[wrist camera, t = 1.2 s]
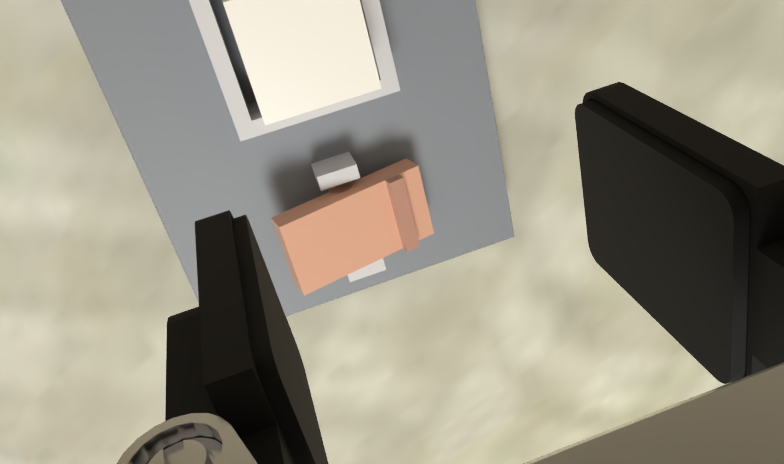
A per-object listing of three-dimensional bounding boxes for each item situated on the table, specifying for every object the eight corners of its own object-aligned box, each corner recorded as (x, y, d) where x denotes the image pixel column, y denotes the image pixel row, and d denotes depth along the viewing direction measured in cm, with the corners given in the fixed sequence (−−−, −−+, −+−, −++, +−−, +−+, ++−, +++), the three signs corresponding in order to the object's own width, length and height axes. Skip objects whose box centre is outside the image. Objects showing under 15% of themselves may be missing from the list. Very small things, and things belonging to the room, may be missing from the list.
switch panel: (493, 212, 35) (533, 257, 31) (213, 309, 33) (218, 369, 30) (377, -429, 23) (418, -486, 19) (-70, -326, 21) (-124, -365, 18)
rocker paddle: (416, 220, 31) (439, 237, 30) (291, 279, 30) (307, 300, 28) (401, 154, 30) (423, 168, 28) (266, 213, 28) (282, 231, 26)
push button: (365, 69, 26) (381, 88, 24) (257, 103, 25) (264, 125, 23) (335, -45, 24) (350, -36, 22) (218, -11, 23) (222, 2, 21)
